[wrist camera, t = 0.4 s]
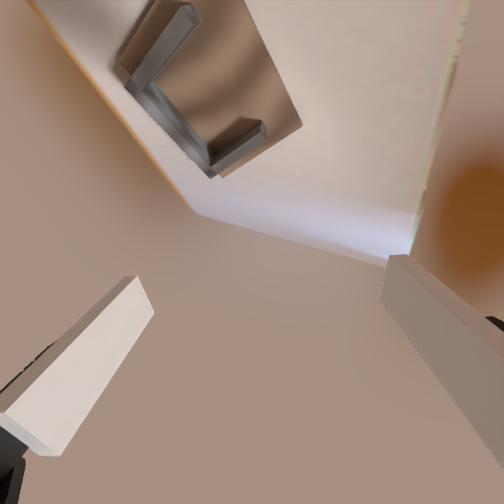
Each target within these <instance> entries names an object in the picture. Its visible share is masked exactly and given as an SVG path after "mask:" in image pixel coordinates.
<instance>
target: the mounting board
mask: <svg viewBox="0 0 504 504" xmlns="http://www.w3.org/2000/svg"><path fill="white" fill-rule="evenodd" d="M118 61H119V62H120V63H121V64H122V65H123V66H124V67H125V69H126V70H127V71H128V72H129V73H130V74H131V75H132V76H131V78H130V79H129V81H128V82H127V84H126V85H125V86H124V87H125V88H126V90H127V91H128V92H129V93H130V94H131V95H132V96H133V97H134V98H135V99H136V100H137V101H138V102H139V103H140V105H141V106H142V107H143V108H144V109H145V110H146V111H147V112H148V113H149V114H150V115H151V116H152V117H153V118H154V119H155V121H156V122H157V123H158V124H159V125H160V126H161V127H162V128H163V129H164V130H165V131H166V132H167V133H168V134H169V135H170V137H171V138H172V139H173V140H174V141H175V142H176V143H177V144H178V145H179V146H180V147H181V148H182V149H183V150H184V152H185V153H186V154H187V155H188V156H189V157H190V158H191V159H192V160H193V161H194V162H195V163H196V164H197V165H198V166H199V168H200V169H201V170H202V171H203V172H204V173H205V174H206V175H207V176H208V177H209V178H210V179H211V178H213V177H214V176H216V175H217V174H219V175H220V176H221V177H222V178H224V177H225V176H227V175H228V174H230V173H231V172H233V171H234V170H236V169H238V168H239V167H241V166H242V165H244V164H245V163H247V162H248V161H250V160H251V159H253V158H254V157H256V156H257V155H259V154H261V153H262V152H264V151H265V150H267V149H268V148H270V147H271V146H273V145H274V144H276V143H277V142H279V141H281V140H282V139H284V138H285V137H287V136H288V135H290V134H291V133H293V132H294V131H296V130H297V129H299V128H301V127H302V122H301V120H300V117H299V115H298V113H297V111H296V109H295V107H294V105H293V103H292V101H291V99H290V96H289V94H288V92H287V90H286V88H285V86H284V84H283V82H282V80H281V78H280V75H279V73H278V71H277V69H276V67H275V65H274V63H273V61H272V59H271V57H270V54H269V52H268V50H267V48H266V46H265V44H264V42H263V40H262V38H261V36H260V34H259V31H258V29H257V27H256V25H255V23H254V21H253V19H252V17H251V15H250V13H249V10H248V8H247V6H246V4H245V2H244V0H155V2H154V4H153V5H152V7H151V8H150V10H149V12H148V13H147V15H146V16H145V18H144V20H143V21H142V23H141V24H140V26H139V28H138V29H137V31H136V32H135V34H134V36H133V37H132V39H131V40H130V42H129V44H128V45H127V47H126V48H125V50H124V52H123V53H122V55H121V56H120V58H119V60H118Z"/></svg>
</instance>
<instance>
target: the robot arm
mask: <svg viewBox="0 0 504 504" xmlns="http://www.w3.org/2000/svg"><path fill="white" fill-rule="evenodd" d="M381 301H382V303H383V304H384V305H385V307H386V308H387V310H388V311H389V312H390V314H391V315H392V316H393V318H394V319H395V320H396V322H397V323H398V325H399V326H400V328H401V329H402V330H403V332H404V333H405V334H406V336H407V337H408V339H409V340H410V341H411V343H412V344H413V345H414V347H415V348H416V350H417V351H418V352H419V354H420V355H421V357H422V358H423V359H424V361H425V362H426V363H427V365H428V366H429V368H430V369H431V370H432V372H433V373H434V374H435V376H436V377H437V379H438V380H439V381H440V383H441V384H442V386H443V387H444V388H445V390H446V391H447V392H448V394H449V395H450V397H451V398H452V399H453V401H454V402H455V404H456V405H457V406H458V408H459V409H460V411H461V412H462V413H463V415H464V416H465V417H466V419H467V420H468V421H469V423H470V424H471V426H472V427H473V429H474V430H475V431H476V433H477V434H478V435H479V437H480V438H481V439H482V441H483V442H484V444H485V445H486V446H487V448H488V449H489V451H490V452H491V453H492V455H493V456H494V457H495V459H496V460H497V462H498V463H499V464H500V466H501V467H502V469H503V470H504V322H503V321H501V320H499V319H497V318H495V317H493V316H491V317H490V316H489V317H484V316H483V315H481V314H480V313H479V312H478V311H476V310H475V309H474V308H473V307H471V306H470V305H469V304H467V303H466V302H465V301H464V300H463V299H461V298H460V297H459V296H458V295H456V294H455V293H454V292H453V291H451V290H450V289H449V288H448V287H446V286H445V285H444V284H443V283H442V282H440V281H439V280H438V279H437V278H435V277H434V276H433V275H431V274H430V273H429V272H428V271H427V270H425V269H424V268H423V267H421V266H420V265H419V264H418V263H416V262H415V261H414V260H413V259H411V258H410V257H409V256H408V255H407V254H403V255H391V256H389V259H388V265H387V270H386V275H385V280H384V285H383V290H382V295H381ZM153 314H154V311H153V309H152V306H151V304H150V302H149V300H148V298H147V296H146V293H145V291H144V289H143V287H142V285H141V283H140V280H139V278H138V276H126V277H124V278H123V279H122V280H120V281H119V282H118V283H117V284H116V285H115V286H114V287H113V288H112V289H111V290H110V291H109V292H108V293H107V294H106V295H105V296H104V297H103V298H102V299H100V300H99V301H98V302H97V303H96V304H95V305H94V306H93V307H92V308H91V309H90V310H89V311H88V312H87V313H86V314H85V315H83V316H82V317H81V318H80V319H79V320H78V321H77V322H76V323H75V324H74V325H73V326H72V327H71V328H70V329H69V330H68V331H67V332H66V333H65V334H64V335H62V336H61V337H60V338H59V339H58V340H57V341H55V342H54V343H52V344H51V345H50V346H48V347H47V348H46V349H45V350H44V351H43V352H41V353H40V354H39V355H38V356H37V357H36V358H35V360H34V361H32V362H31V363H30V364H29V365H28V366H26V367H25V368H24V371H23V372H20V373H19V374H18V375H17V376H16V377H15V378H14V379H12V381H10V382H9V383H8V384H7V385H6V386H5V387H4V388H3V389H2V390H1V391H0V504H18V500H19V495H20V490H21V485H22V481H23V475H24V471H25V466H26V464H25V459H24V458H23V457H22V455H23V454H24V453H25V452H26V450H27V449H28V448H30V449H31V450H33V451H34V452H36V453H37V454H38V455H40V456H60V455H61V454H62V452H63V451H64V449H65V448H66V446H67V445H68V443H69V441H70V440H71V438H72V437H73V435H74V434H75V432H76V431H77V429H78V428H79V426H80V425H81V423H82V422H83V420H84V419H85V417H86V416H87V414H88V413H89V411H90V410H91V408H92V407H93V405H94V403H95V402H96V401H97V399H98V397H99V396H100V394H101V393H102V391H103V390H104V388H105V387H106V385H107V384H108V382H109V381H110V379H111V378H112V376H113V374H114V373H115V372H116V370H117V369H118V367H119V366H120V364H121V362H122V361H123V360H124V358H125V357H126V355H127V353H128V352H129V350H130V349H131V347H132V346H133V344H134V343H135V341H136V340H137V338H138V337H139V335H140V334H141V332H142V331H143V329H144V328H145V326H146V324H147V323H148V321H149V320H150V318H151V317H152V316H153Z"/></svg>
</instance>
